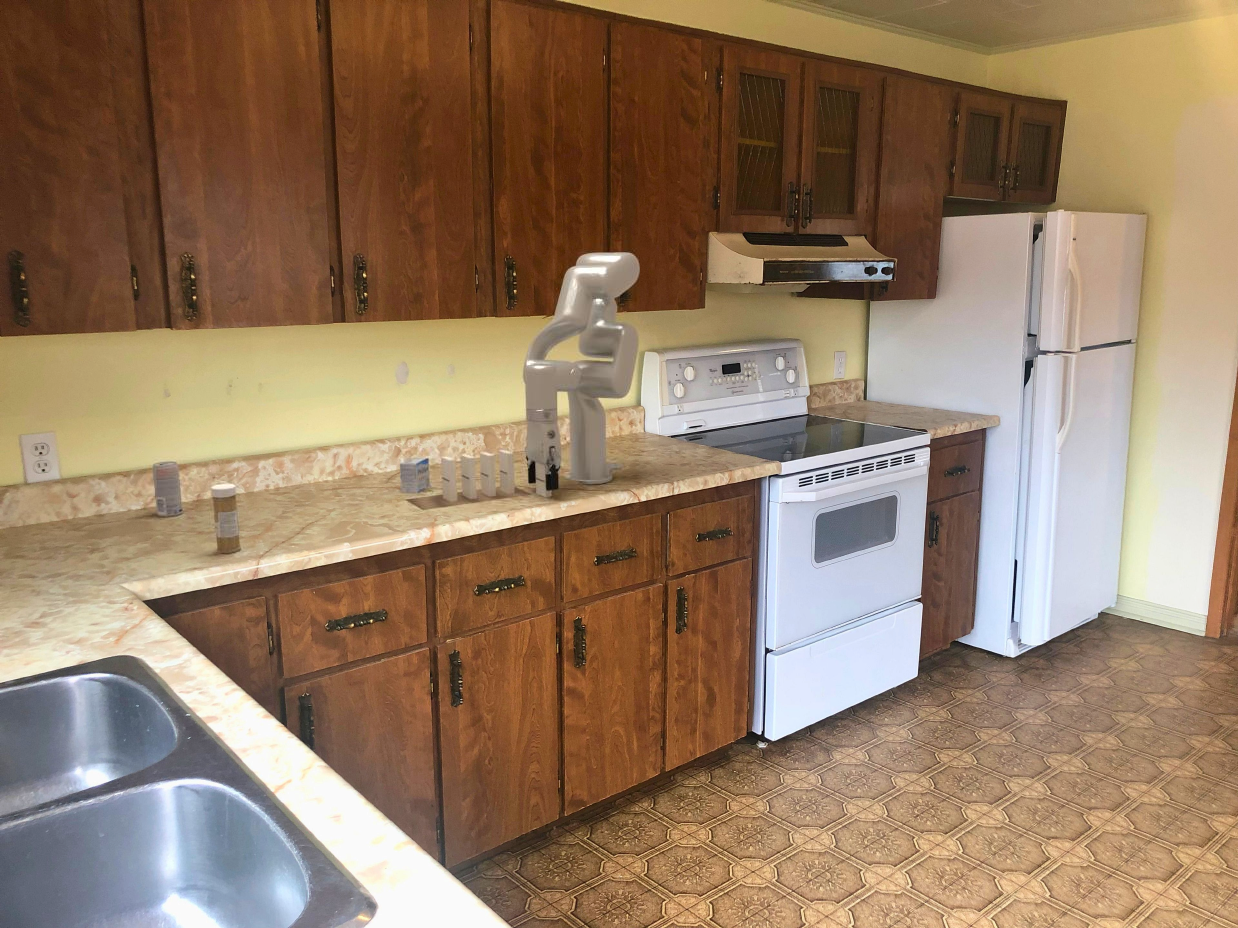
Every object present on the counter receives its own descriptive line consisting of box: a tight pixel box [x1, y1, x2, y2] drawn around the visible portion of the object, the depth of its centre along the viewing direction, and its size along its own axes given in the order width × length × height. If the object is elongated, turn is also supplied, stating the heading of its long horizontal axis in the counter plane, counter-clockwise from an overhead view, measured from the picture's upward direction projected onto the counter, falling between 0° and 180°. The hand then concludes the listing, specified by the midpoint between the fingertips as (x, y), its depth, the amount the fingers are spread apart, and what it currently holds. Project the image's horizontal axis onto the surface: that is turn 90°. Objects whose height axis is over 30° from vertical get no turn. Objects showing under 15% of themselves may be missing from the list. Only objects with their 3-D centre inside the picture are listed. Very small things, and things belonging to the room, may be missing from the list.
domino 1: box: [440, 456, 458, 502], centre depth 229 cm, size 2×5×10 cm, turn 32°
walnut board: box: [404, 485, 533, 511], centre depth 233 cm, size 28×12×1 cm, turn 122°
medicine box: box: [399, 457, 431, 494], centre depth 240 cm, size 8×4×9 cm, turn 168°
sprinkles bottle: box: [210, 483, 242, 554], centre depth 192 cm, size 5×5×14 cm
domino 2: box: [460, 453, 477, 499], centre depth 232 cm, size 2×5×10 cm, turn 32°
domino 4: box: [498, 449, 515, 494], centre depth 237 cm, size 2×5×10 cm, turn 32°
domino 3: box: [479, 451, 497, 497], centre depth 234 cm, size 2×5×10 cm, turn 32°
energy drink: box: [151, 461, 183, 518], centre depth 222 cm, size 5×5×12 cm
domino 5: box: [535, 462, 552, 498], centre depth 233 cm, size 2×5×10 cm, turn 31°
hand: (543, 486), depth 234 cm, fingers open, 8 cm apart
